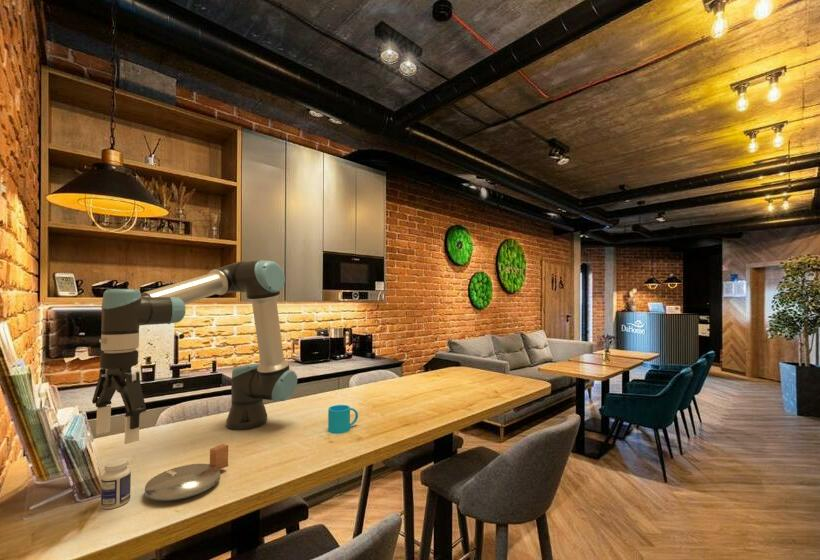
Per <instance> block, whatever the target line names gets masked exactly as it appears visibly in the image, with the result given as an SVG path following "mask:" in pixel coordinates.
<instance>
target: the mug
mask: <svg viewBox="0 0 820 560" xmlns="http://www.w3.org/2000/svg"><path fill="white" fill-rule="evenodd" d="M351 411H353V412H354V414H355V417H354V420H352V422H351ZM327 413H328V414H327V416H328V418H327V419H328V420H327V424H328V425H327V426H328V427H327V429H328V430H327V431H328V433H330V434H345V433H348V432H349V431H350V430H351V427H352V426H353V425H354V424H355V423H356V422H357V421H358V418H359V413H358V411H357V410H356V409H355V408H353V407H351V406H350V405H345V404H337V405H336V404H335V405H331V406H330V407H328V412H327Z"/></svg>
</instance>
